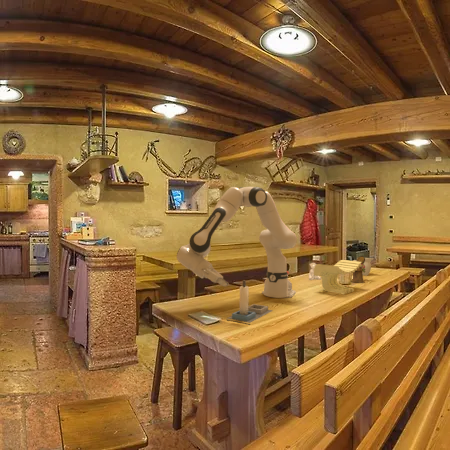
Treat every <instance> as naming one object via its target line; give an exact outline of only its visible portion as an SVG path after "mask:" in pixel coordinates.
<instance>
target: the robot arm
mask: <svg viewBox="0 0 450 450" xmlns="http://www.w3.org/2000/svg"><path fill="white" fill-rule="evenodd" d="M240 207H246V208H252V207H255V208H256V212H257V215H258V217H259V220H260V223H261V225H262V226H263V227H264V229H263V230H261V232H259V236H258V239H259V243H260V244H261V245H262V246H263V248H264V250H265V253H266V257H267V271H266V279H265V280H264V284H263V285H264V286H263V290H262V291H261V294H263V295H264V296H265V297H269V298H275V299H276V298H277V299H278V298H279V299H280V298H281V299H282V298H292V297H293V296H294V295H295V294H296V292H297V291H296V290H294V289H293V283H292V282H291V281H290V280H289V277H288V276H289V274H290V272H289V271H288V270H287V269H288V268H287V267H288V266H287V261H288V260H287V257H286V256H285V255H284V254H283V253H282V249H283V250H287V249H293V248H294V247H296V245H297V244H298V237H297V234H296V233H295V232H294V231H292V230H291V229H290V228H289V227H288V226H287V225H286V224H285V222H284V221H283V220H282V218H281V215H280V213H279V211H278V210H279V209H278V208H277V206H276V203H275V201H274V199H273V197H272V195H271V194H270V192H268V191H267V190H265V189H263V188H262V187H259V186H244V187H243V186H242V187H236V186H231V187H229V188H228V189H227V190H225V192H224V193H223V194H222V195H221V196H220V198H219V200H218V201H217V203H216V204H215V206H214V208H213V210H212V213H211V214H210V216H208V219H206V221H205V222H204V224H203V225H202V226H201V228H200V229H198V230H196V231H195V232H194V233H192V234H191V236H190V238H189V241H188V242H189V243H188V244H186V245H182V246H181V247H180V248H179V249H178V251H177V253H176V260H177V261H178V263H180V264H181V265H182V266H184V267H185V268H186V269H187V270H190V271H191V272H192V273H193V274H195V275H196V276H197V277H199V278H201V279H204V278H205V279H208V280H210V281H211V282H212V283H216V284H217V283H218V284H219V285H221V286H223V288H225V287H228V286H229V285H230V284H229V282H228V281H226V279H224V276H223V275H222V274H221V273H220V272H218V270H216V269H215V268H214V266H213V263H211V262H210V261H208V260H207V259H206V257H207V255H209V254H210V252H211V250H212V246H211V245H212V244H211V242H212V241H211V239H212V236H213V235H214V233H215V232H216V230H217V229H218V227H219V226H220V225H221V224H222V223H226V222H229V221H231V219H232V218H233V217H234V216H235V215H236V213H237V211H238V210H239V208H240ZM265 228H266V229H265Z"/></svg>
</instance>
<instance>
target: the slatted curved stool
mask: <svg viewBox="0 0 450 450" xmlns="http://www.w3.org/2000/svg"><path fill="white" fill-rule="evenodd" d="M316 264H317V265H316V266H315V267H314V276H320V277H321V288H322V289H323V291H325V292H330V293H335V294H342V295H347V294H349V293H353V292H355V289H354V288H353V287H347V286H345V285H341V284H339V283H338V281H337V280H338V277H339V275H348V274H352V273H353V272H355V270H357V268H359V267H360V266H361V262H357V261H353V260H347V259H341V260H338V261H337V263H335V264H333V265H329V264H324V263H323V264H322V263H316Z"/></svg>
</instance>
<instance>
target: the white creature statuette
mask: <svg viewBox="0 0 450 450" xmlns="http://www.w3.org/2000/svg"><path fill="white" fill-rule="evenodd" d="M317 264H318V263H315V262H311V263H309V266H310V269H309V273H308V280H309V281H312V280H313V281H314V280H315V281H316V280H319V281H322V278H321V276H314V267H315V266H316V265H317Z"/></svg>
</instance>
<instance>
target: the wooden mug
mask: <svg viewBox="0 0 450 450" xmlns="http://www.w3.org/2000/svg"><path fill="white" fill-rule="evenodd" d="M365 258H366V257H364V256H363V255H360V256H358V257H357V258H356V260H357V262H361V264H363V263H364V262H365ZM351 283H354V284H364V283H365V282H364V276H363V274H362V267H361V266H360V267H359V268H357V270H355V272H353V279H352V282H351Z"/></svg>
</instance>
